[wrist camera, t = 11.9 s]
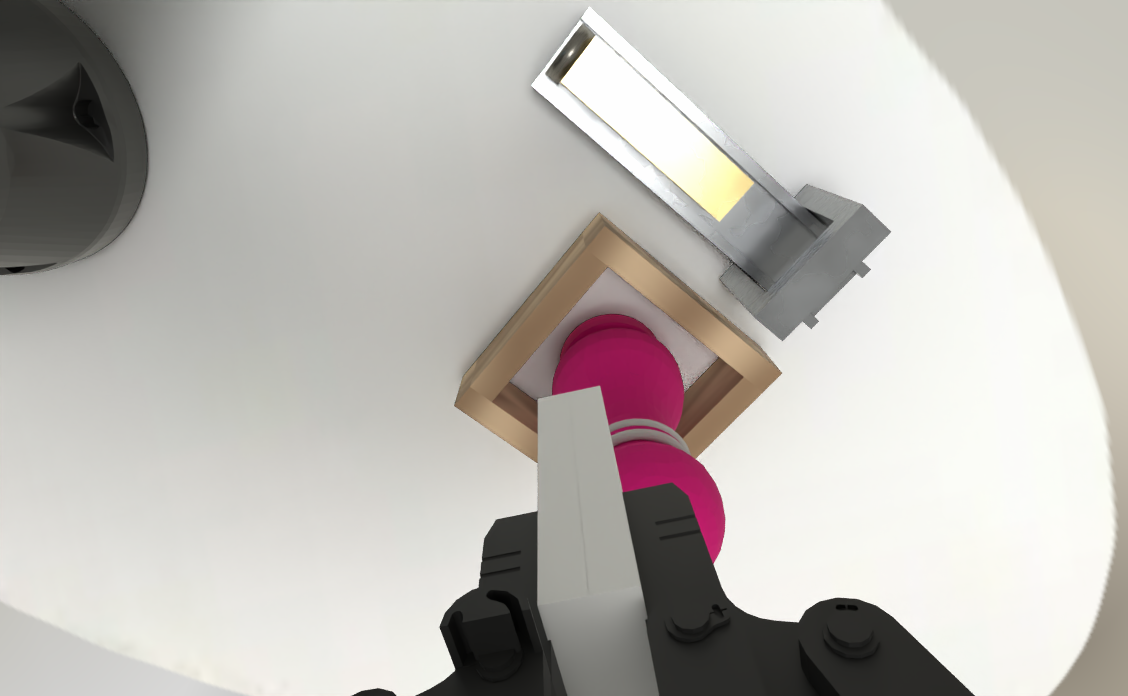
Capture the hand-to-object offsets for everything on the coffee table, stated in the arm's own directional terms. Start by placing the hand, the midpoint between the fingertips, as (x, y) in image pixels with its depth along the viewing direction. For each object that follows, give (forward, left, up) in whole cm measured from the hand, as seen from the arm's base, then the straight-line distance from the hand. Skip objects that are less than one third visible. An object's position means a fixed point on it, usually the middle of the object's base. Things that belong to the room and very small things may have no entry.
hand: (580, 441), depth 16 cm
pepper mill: (+7, -4, -23) cm, 25 cm away
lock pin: (-1, +8, -21) cm, 22 cm away
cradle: (+7, -4, -23) cm, 25 cm away
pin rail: (+4, +8, -23) cm, 25 cm away
